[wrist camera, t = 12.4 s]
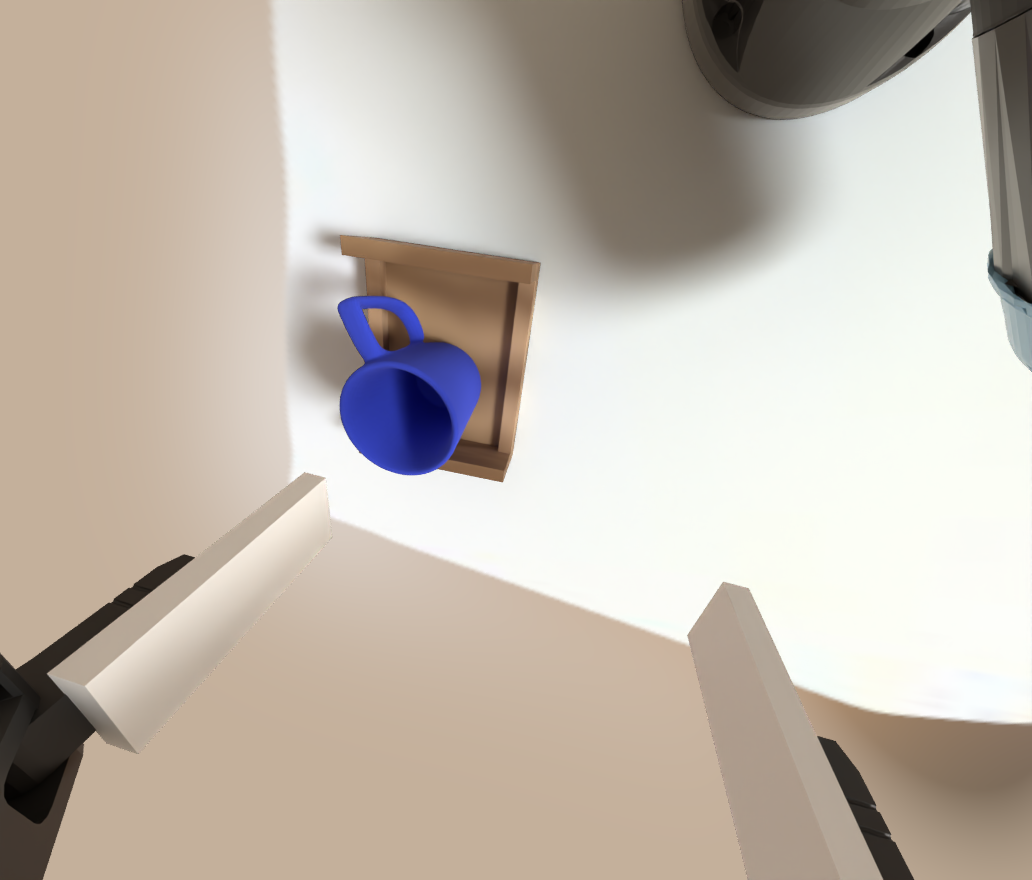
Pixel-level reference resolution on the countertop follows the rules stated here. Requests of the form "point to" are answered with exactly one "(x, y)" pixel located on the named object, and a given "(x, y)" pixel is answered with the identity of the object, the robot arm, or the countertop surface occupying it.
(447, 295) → the tray
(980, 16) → the robot arm
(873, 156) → the countertop surface
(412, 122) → the countertop surface
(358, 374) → the mug
